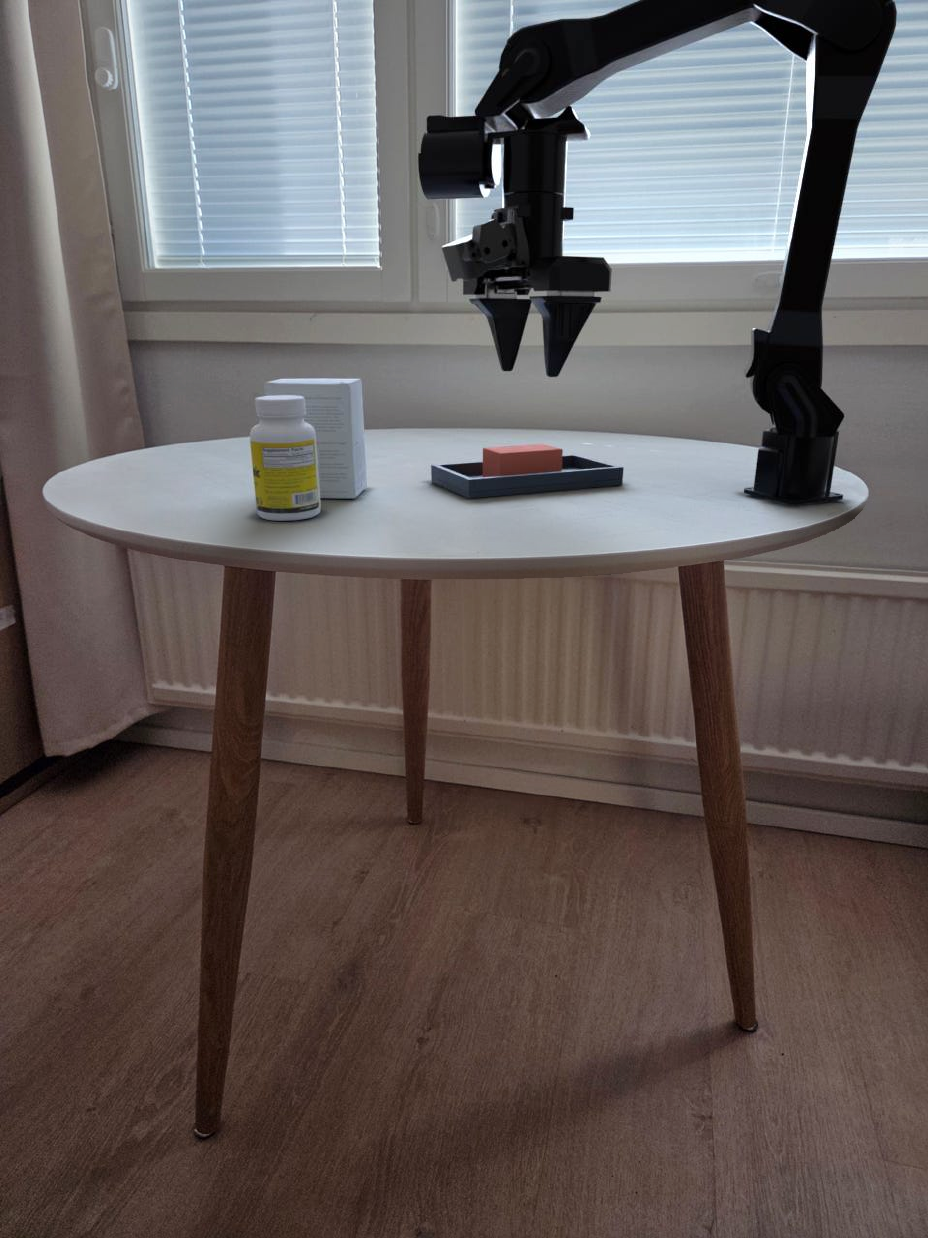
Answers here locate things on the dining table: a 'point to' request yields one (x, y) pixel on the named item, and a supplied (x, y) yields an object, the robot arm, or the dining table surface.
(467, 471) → the tray
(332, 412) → the small box
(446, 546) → the dining table surface
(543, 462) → the brick
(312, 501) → the supplement bottle
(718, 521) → the dining table surface
